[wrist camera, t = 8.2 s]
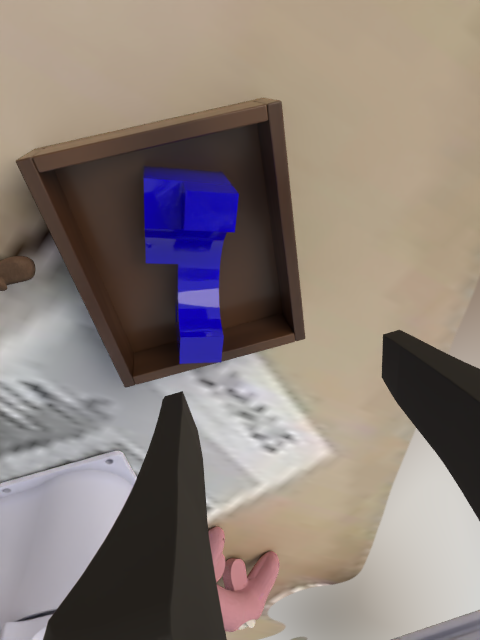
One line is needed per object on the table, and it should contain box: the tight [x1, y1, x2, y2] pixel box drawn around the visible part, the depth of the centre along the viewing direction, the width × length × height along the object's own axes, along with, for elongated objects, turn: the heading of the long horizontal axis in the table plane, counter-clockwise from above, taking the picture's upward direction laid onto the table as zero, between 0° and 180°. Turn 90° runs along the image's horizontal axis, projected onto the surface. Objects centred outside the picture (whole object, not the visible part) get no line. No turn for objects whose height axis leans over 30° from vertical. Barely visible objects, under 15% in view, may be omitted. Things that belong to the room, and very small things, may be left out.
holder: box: [16, 98, 305, 387], centre depth 19 cm, size 10×12×3 cm
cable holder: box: [144, 166, 239, 364], centre depth 18 cm, size 8×4×4 cm, turn 173°
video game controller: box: [208, 527, 279, 632], centre depth 35 cm, size 10×5×7 cm, turn 39°
